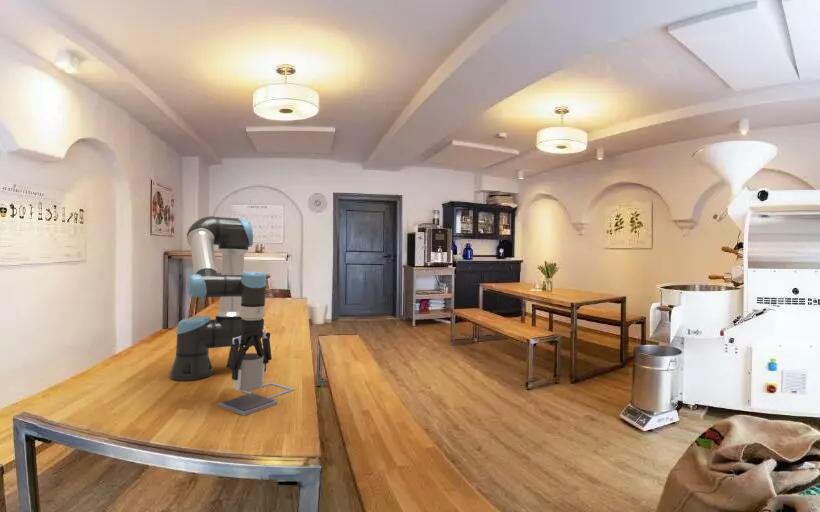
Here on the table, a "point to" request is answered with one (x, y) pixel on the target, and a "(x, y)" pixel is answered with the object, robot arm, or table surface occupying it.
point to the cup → (251, 372)
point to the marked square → (275, 385)
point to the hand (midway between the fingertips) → (248, 385)
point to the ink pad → (247, 404)
